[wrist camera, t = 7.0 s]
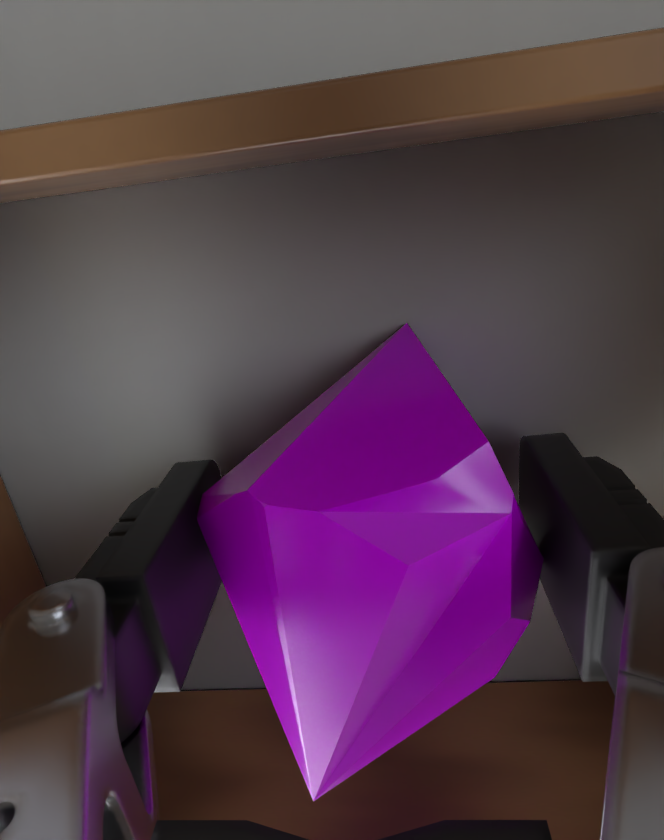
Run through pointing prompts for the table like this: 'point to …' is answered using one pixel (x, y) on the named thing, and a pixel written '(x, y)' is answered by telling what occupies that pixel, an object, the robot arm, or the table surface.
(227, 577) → the crystal
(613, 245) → the table surface
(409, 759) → the wooden box frame
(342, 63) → the table surface
